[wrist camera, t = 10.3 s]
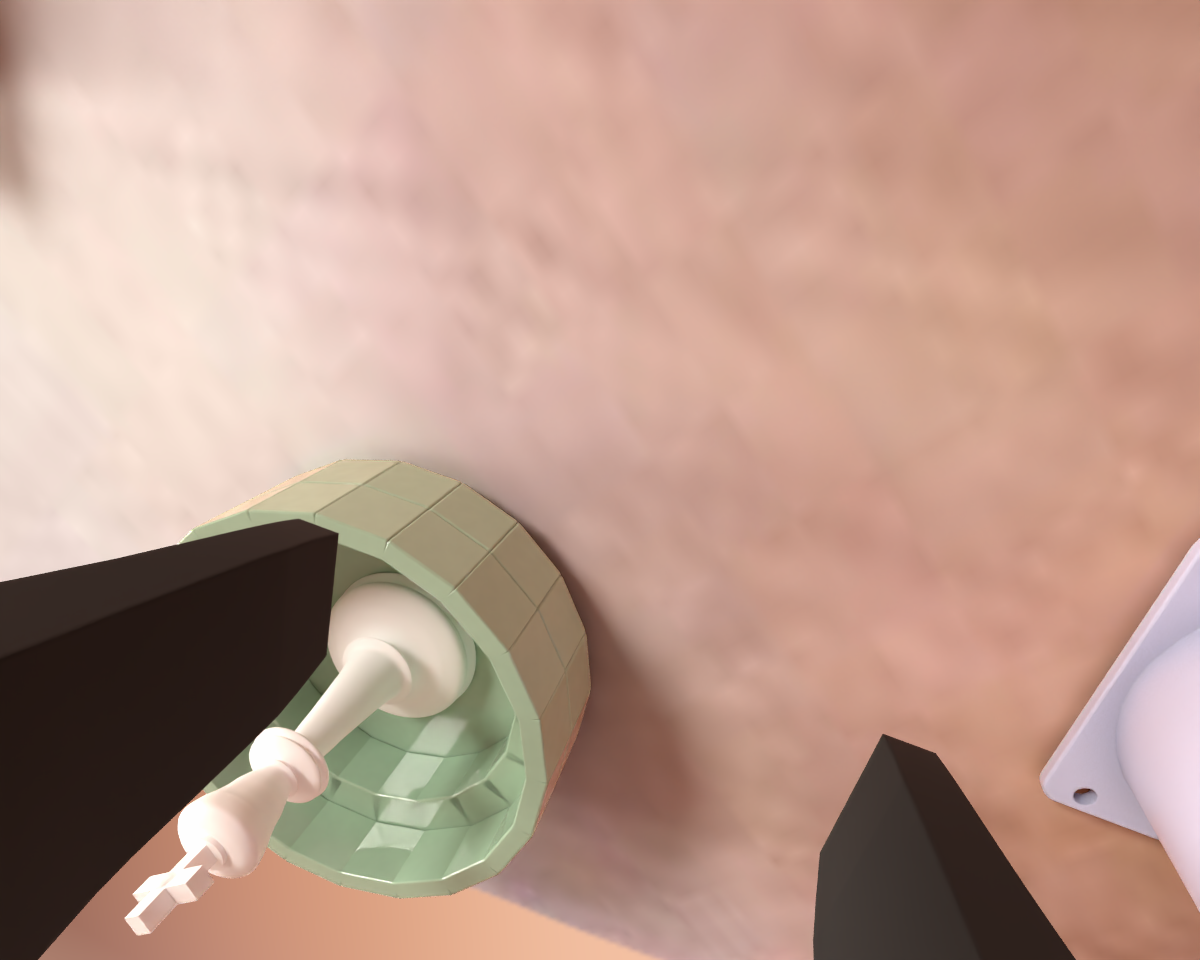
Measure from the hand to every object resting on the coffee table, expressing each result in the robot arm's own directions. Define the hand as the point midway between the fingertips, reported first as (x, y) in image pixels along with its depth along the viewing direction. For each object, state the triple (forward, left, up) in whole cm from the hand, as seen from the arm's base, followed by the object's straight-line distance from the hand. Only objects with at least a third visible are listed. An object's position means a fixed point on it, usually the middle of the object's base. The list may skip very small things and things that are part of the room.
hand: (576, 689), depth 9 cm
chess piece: (+7, +9, -10) cm, 15 cm away
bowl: (+7, +9, -10) cm, 15 cm away
